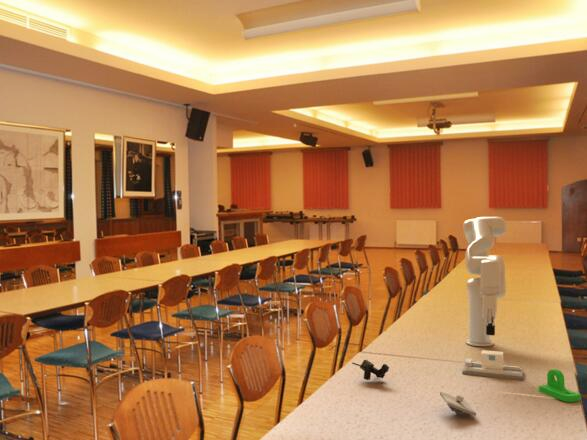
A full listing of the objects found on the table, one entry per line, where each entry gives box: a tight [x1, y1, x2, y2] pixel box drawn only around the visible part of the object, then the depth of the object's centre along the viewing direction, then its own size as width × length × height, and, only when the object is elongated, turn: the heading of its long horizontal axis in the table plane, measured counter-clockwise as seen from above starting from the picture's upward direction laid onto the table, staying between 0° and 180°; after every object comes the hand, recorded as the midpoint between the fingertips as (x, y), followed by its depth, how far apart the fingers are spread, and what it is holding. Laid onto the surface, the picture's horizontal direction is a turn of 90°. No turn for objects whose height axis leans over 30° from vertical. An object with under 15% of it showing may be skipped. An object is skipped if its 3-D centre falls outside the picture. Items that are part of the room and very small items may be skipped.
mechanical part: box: [538, 369, 582, 403], centre depth 182 cm, size 12×6×8 cm, turn 22°
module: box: [480, 349, 504, 371], centre depth 208 cm, size 5×8×7 cm, turn 66°
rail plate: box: [461, 357, 524, 381], centre depth 208 cm, size 10×22×4 cm, turn 66°
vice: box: [351, 359, 390, 381], centre depth 201 cm, size 18×9×11 cm
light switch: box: [439, 391, 477, 417], centre depth 170 cm, size 9×10×5 cm
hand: (490, 334), depth 211 cm, fingers closed
